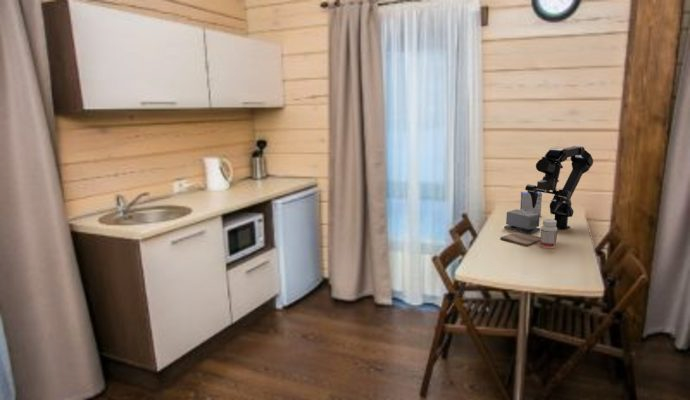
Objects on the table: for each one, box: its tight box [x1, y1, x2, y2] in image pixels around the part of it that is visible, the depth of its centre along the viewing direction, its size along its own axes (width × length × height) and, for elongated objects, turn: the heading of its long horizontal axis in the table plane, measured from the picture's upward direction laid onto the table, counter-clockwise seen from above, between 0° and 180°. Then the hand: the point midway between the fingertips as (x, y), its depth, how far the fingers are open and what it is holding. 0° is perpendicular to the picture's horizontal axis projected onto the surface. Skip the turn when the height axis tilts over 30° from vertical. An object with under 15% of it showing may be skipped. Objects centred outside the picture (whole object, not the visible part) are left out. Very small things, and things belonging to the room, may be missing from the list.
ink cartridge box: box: [519, 191, 543, 217], centre depth 240 cm, size 10×6×14 cm, turn 78°
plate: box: [500, 231, 541, 247], centre depth 202 cm, size 13×13×1 cm
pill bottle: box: [539, 218, 558, 249], centre depth 191 cm, size 6×6×11 cm
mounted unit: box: [503, 209, 541, 235], centre depth 216 cm, size 9×13×8 cm
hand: (543, 210), depth 206 cm, fingers open, 9 cm apart
